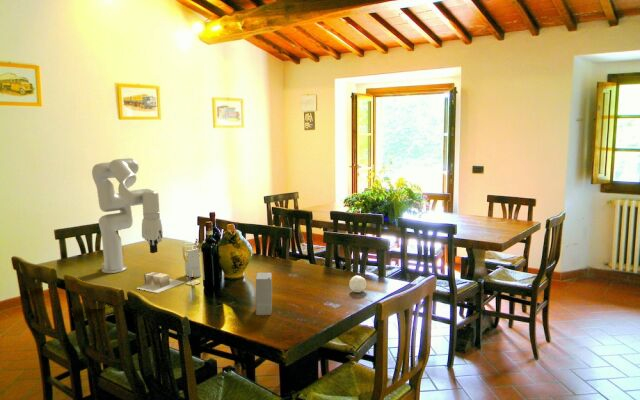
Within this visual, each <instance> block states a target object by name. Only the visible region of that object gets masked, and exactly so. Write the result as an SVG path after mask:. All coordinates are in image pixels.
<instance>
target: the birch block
mask: <svg viewBox="0 0 640 400" xmlns="http://www.w3.org/2000/svg"><path fill="white" fill-rule="evenodd" d="M143 276H144V285H146V284H147V285H152V286H158V287H165V286H167V285H170V279H171V278H170V274H168V273H167V274H166V273H163V272H162V273H160V272H156V271H155V272H154V271H150V272H148V273H144V274H143Z"/></svg>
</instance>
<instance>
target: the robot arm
mask: <svg viewBox="0 0 640 400" xmlns="http://www.w3.org/2000/svg"><path fill="white" fill-rule="evenodd" d="M138 172H139V163H138V162H137V161H136V159H134V158H132V157H131V158H130V157H129V158H116V159H113V160H111V161H110V162H109V161H108V162H100V163H96V164H94V165H93V167H92V169H91V174H92V179H93V182H94V184H95V186H96V189H97V190H96V191H97V192H96V193H97V198H98V205H99V208H100V210H101V212H104V213H108V214H104V215H101V216H100V218H99V219H98V226H99V227H98V228H99V230H100V234H101V241H102V250H103V251H102V252H103V262H101V266H103V268H102V269H101V272H102V273H103V274H115V273H116V274H117V273H121V272H124V271H127V267H128V266H127V265H124V257H123V247H122V245H123V244H122V238H121V236H120V235H119V234H118V232H117V231H122V230H126V229H129V228H131V227H132V225H133V213H132V207H135V206H139V205H140V206H142V214H143V218H142V222H141V238H142V239H144V240H145V241H147V243H148V245H149V253H150V254H156V253H158V245H159V243H161V242H162V241H163V240H162V239H163V236H164V235H163V232H164V231H163V225H162V221H161V217H160V216H161V213H160V198H159V197H160V196H159V192H158V191H157V190H152V189H150V188H142V189H133V190H130V189H129V188H130V187H132V186H133V185H134V184H136V181H137V176H136V174H137V173H138ZM110 179H116V181H117V182H118V188H117V189H118V190H117V191H118V192H117V193H116V192H115V187H114V184H113V183H112V181H111V180H110ZM116 211H119V212H116ZM109 212H114V213H109ZM115 212H116V213H115Z"/></svg>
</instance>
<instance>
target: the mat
mask: <svg viewBox="0 0 640 400" xmlns="http://www.w3.org/2000/svg"><path fill="white" fill-rule="evenodd" d="M185 283H186V281H182V280H177V279H173V278H172V279H171V278H170V285H167V286H165V287H158V286H152V285H147V284H144V285H142V286H138V287H136V288H135V289H136V290H139V289H140V290H139V291H144V290H145V291H144V292H148V293H149V292H150V293H155V294H160V293H162V292H164V291H167V290H169V289H172V288H175V287H176V286H177V287H178V286H179V285H182V284H185Z"/></svg>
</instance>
